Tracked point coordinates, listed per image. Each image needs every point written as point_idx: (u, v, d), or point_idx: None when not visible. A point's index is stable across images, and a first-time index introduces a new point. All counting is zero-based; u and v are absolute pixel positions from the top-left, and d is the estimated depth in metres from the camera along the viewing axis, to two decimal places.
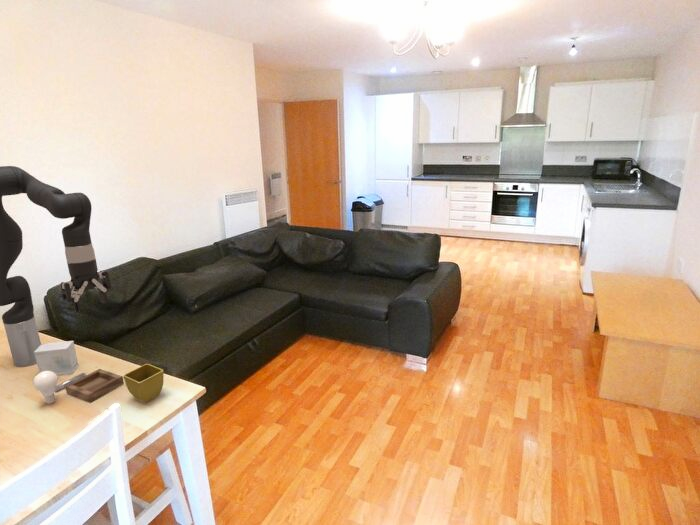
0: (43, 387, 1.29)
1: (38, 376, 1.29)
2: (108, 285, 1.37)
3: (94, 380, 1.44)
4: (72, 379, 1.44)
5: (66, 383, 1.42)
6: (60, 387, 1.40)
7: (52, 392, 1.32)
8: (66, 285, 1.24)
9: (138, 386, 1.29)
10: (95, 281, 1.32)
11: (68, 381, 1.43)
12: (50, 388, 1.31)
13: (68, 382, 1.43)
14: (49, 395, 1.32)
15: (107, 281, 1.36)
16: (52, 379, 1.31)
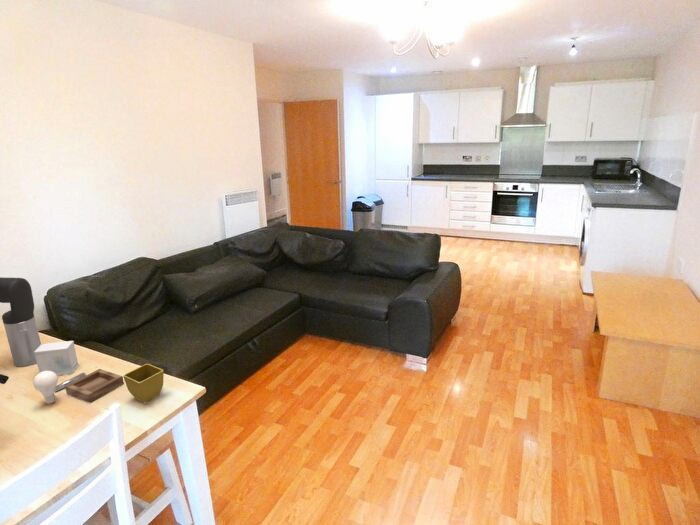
0: (43, 387, 1.29)
1: (38, 376, 1.29)
2: None
3: (94, 380, 1.44)
4: (72, 379, 1.44)
5: (66, 383, 1.42)
6: (60, 387, 1.40)
7: (52, 392, 1.32)
8: None
9: (138, 386, 1.29)
10: None
11: (68, 381, 1.43)
12: (50, 388, 1.31)
13: (68, 382, 1.43)
14: (49, 395, 1.32)
15: None
16: (52, 379, 1.31)
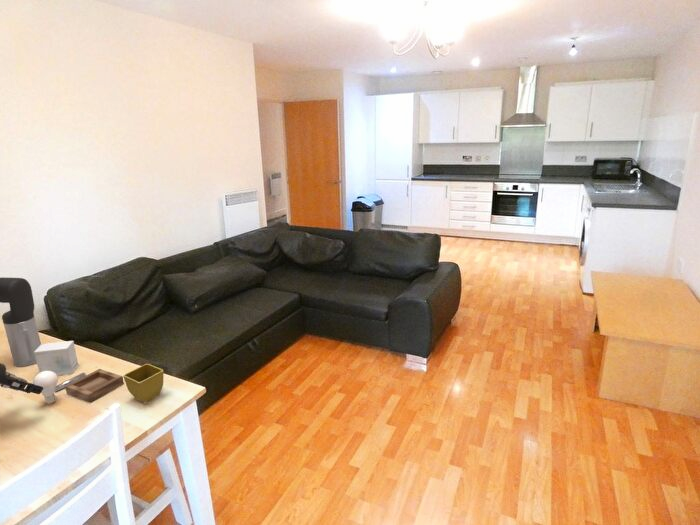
0: (43, 387, 1.29)
1: (38, 376, 1.29)
2: None
3: (94, 380, 1.44)
4: (72, 379, 1.44)
5: (66, 383, 1.42)
6: (60, 387, 1.40)
7: (52, 392, 1.32)
8: (17, 380, 1.18)
9: (138, 386, 1.29)
10: (6, 372, 1.23)
11: (68, 381, 1.43)
12: (50, 388, 1.31)
13: (68, 382, 1.43)
14: (49, 395, 1.32)
15: None
16: (52, 379, 1.31)
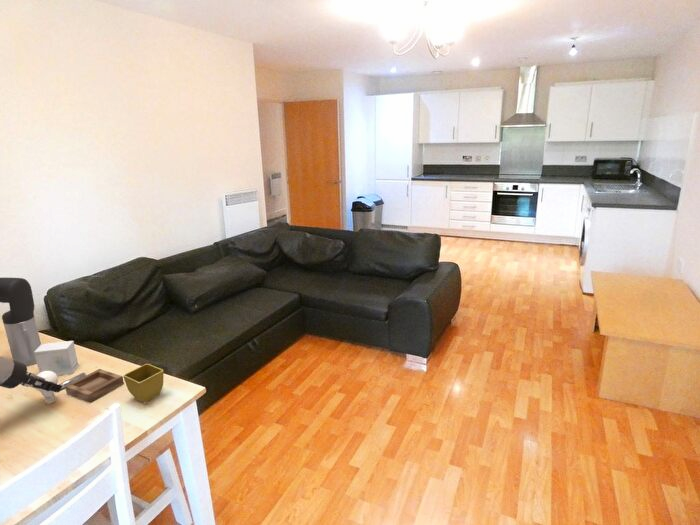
0: None
1: None
2: None
3: (94, 380, 1.44)
4: (72, 379, 1.44)
5: (66, 383, 1.42)
6: None
7: (52, 392, 1.32)
8: (40, 379, 1.24)
9: (138, 386, 1.29)
10: (27, 371, 1.28)
11: (68, 381, 1.43)
12: None
13: (68, 382, 1.43)
14: (49, 395, 1.32)
15: None
16: (52, 379, 1.31)
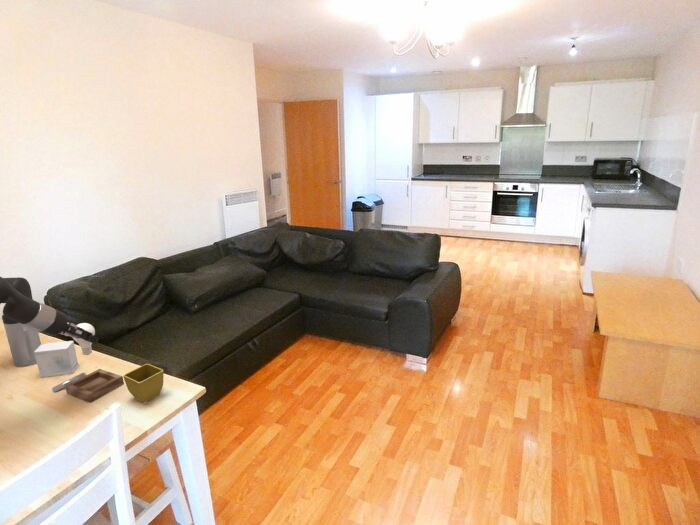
0: None
1: None
2: None
3: (94, 380, 1.44)
4: (72, 379, 1.44)
5: (66, 383, 1.42)
6: (60, 387, 1.40)
7: (89, 344, 1.36)
8: (80, 328, 1.27)
9: (138, 386, 1.29)
10: None
11: (68, 381, 1.43)
12: None
13: (68, 382, 1.43)
14: (86, 347, 1.35)
15: None
16: (90, 330, 1.34)
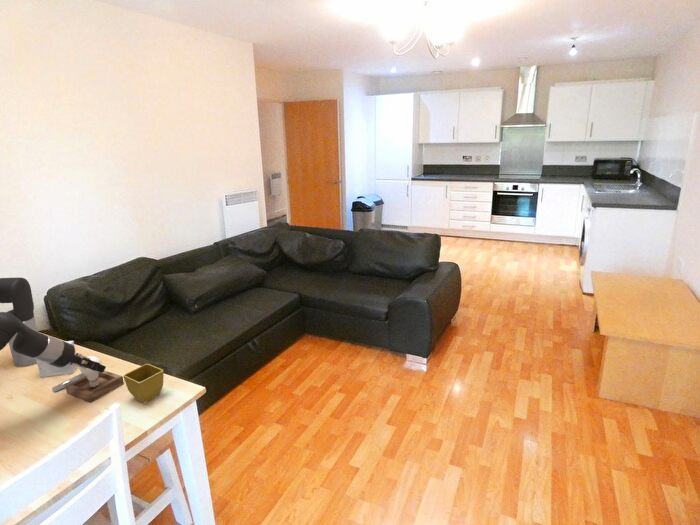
0: (89, 371, 1.36)
1: None
2: None
3: None
4: (72, 379, 1.44)
5: (66, 383, 1.42)
6: (60, 387, 1.40)
7: (96, 376, 1.39)
8: (86, 358, 1.30)
9: (138, 386, 1.29)
10: None
11: (68, 381, 1.43)
12: (95, 372, 1.37)
13: (68, 382, 1.43)
14: (94, 379, 1.39)
15: None
16: None
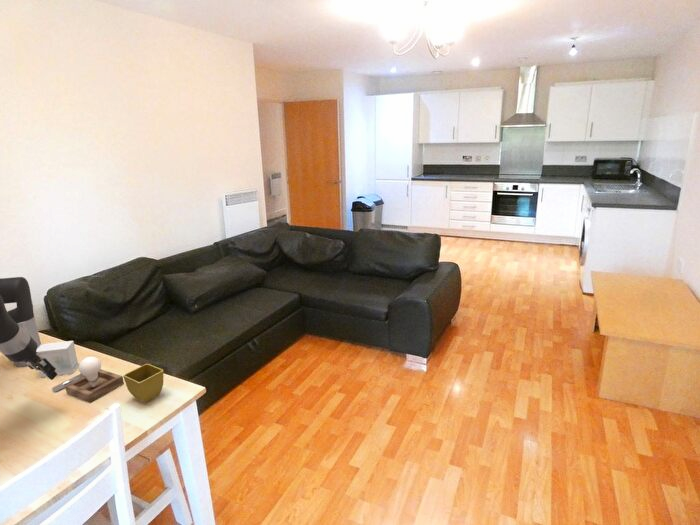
0: (88, 372, 1.35)
1: (83, 361, 1.36)
2: None
3: None
4: (72, 379, 1.44)
5: (66, 383, 1.42)
6: (60, 387, 1.40)
7: (96, 377, 1.39)
8: (46, 359, 1.22)
9: (138, 386, 1.29)
10: None
11: (68, 381, 1.43)
12: (94, 373, 1.37)
13: (68, 382, 1.43)
14: (93, 379, 1.38)
15: None
16: (96, 364, 1.37)
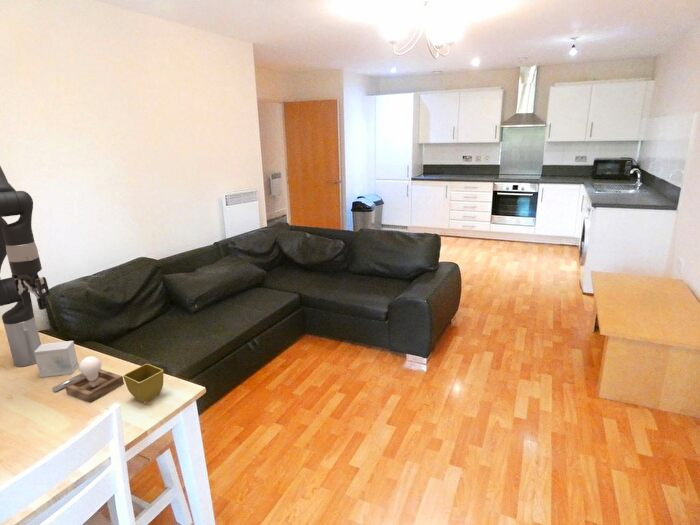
0: (88, 371, 1.36)
1: (84, 361, 1.36)
2: None
3: None
4: (72, 379, 1.44)
5: (66, 383, 1.42)
6: (60, 387, 1.40)
7: (96, 376, 1.39)
8: None
9: (138, 386, 1.29)
10: None
11: (68, 381, 1.43)
12: (95, 372, 1.37)
13: (68, 382, 1.43)
14: (93, 379, 1.39)
15: None
16: (96, 364, 1.37)
